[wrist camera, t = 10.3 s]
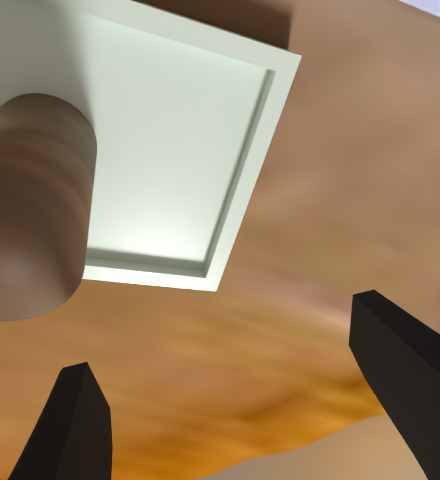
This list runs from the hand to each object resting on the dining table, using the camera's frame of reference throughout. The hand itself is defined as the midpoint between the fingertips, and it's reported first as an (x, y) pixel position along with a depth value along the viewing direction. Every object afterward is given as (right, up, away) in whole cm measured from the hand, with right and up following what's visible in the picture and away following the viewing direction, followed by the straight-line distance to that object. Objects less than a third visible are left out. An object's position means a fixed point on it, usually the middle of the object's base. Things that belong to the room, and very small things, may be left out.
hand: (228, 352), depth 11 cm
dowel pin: (-7, +7, +5) cm, 11 cm away
